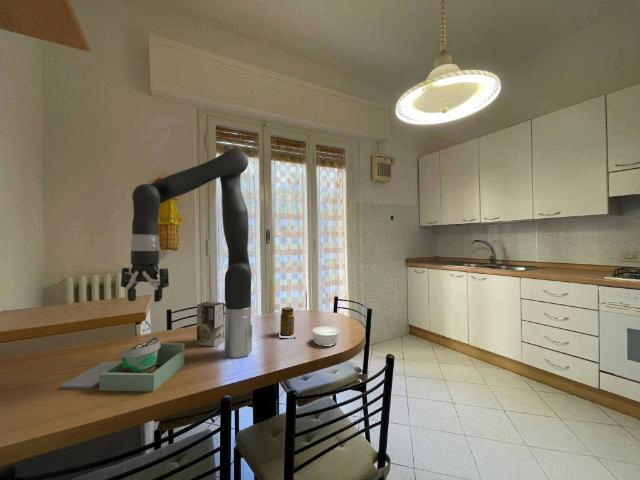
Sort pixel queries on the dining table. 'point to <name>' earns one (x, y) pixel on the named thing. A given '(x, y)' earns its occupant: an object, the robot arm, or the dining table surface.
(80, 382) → the slate tile
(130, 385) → the pale green open box
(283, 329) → the condiment
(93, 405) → the dining table surface
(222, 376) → the dining table surface
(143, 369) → the food container
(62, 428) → the dining table surface
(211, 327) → the coffee box
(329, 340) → the ramekin
